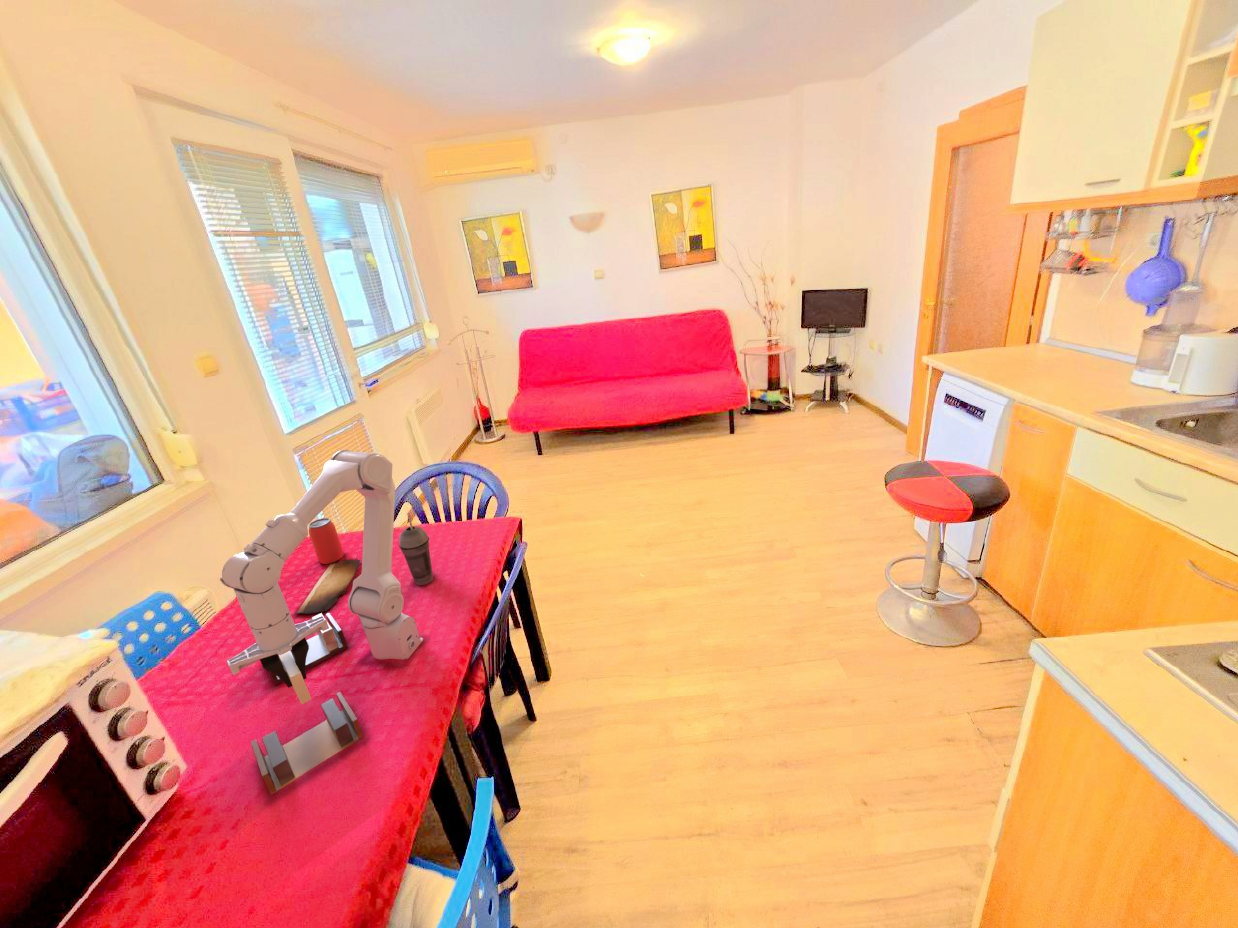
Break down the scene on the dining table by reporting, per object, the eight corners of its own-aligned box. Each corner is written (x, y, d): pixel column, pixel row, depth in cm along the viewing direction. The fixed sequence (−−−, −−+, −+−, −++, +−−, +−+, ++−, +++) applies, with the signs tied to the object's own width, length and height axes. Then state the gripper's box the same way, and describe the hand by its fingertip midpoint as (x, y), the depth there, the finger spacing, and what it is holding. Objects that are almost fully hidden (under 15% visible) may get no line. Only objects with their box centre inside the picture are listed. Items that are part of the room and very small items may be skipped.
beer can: (322, 555, 149) (309, 519, 144) (346, 550, 151) (334, 515, 146) (316, 567, 143) (303, 530, 139) (342, 561, 145) (329, 525, 140)
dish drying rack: (335, 629, 116) (327, 608, 114) (348, 647, 110) (340, 625, 108) (265, 664, 107) (255, 641, 105) (275, 685, 101) (265, 662, 99)
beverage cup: (429, 569, 137) (412, 503, 130) (444, 577, 133) (427, 510, 125) (404, 582, 132) (385, 514, 125) (418, 591, 128) (399, 522, 120)
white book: (297, 673, 93) (287, 647, 91) (311, 699, 87) (300, 672, 85) (288, 678, 92) (277, 652, 90) (301, 704, 86) (290, 678, 84)
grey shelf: (348, 711, 93) (340, 691, 92) (365, 739, 87) (357, 718, 85) (260, 763, 85) (250, 741, 83) (272, 799, 78) (262, 776, 77)
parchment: (332, 562, 144) (331, 560, 144) (367, 557, 145) (366, 554, 145) (292, 619, 121) (291, 616, 121) (335, 611, 122) (333, 609, 122)
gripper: (221, 653, 77) (252, 718, 82) (323, 606, 86) (346, 667, 91) (214, 633, 81) (244, 696, 86) (311, 590, 91) (334, 649, 96)
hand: (296, 680), depth 89 cm, fingers closed on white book, 2 cm apart
